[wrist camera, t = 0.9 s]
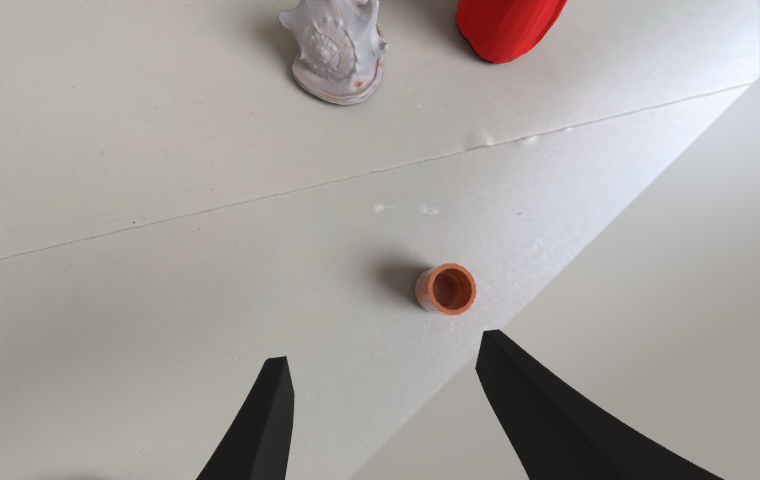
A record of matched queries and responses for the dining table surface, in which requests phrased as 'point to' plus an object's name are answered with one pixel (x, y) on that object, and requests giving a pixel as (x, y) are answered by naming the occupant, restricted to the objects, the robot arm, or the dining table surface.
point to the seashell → (337, 48)
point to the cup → (446, 289)
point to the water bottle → (506, 25)
